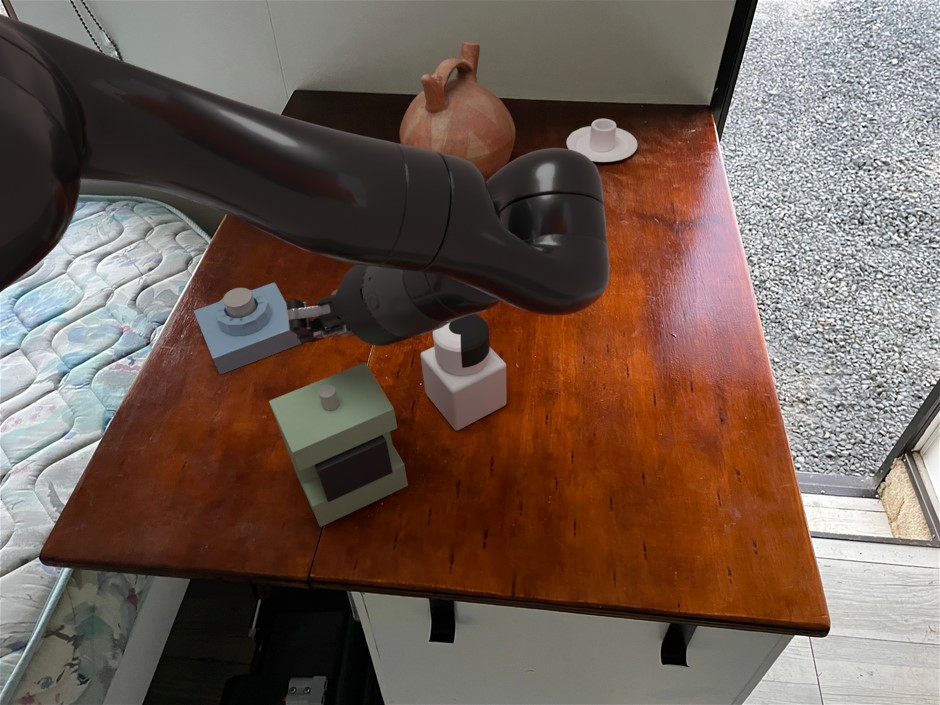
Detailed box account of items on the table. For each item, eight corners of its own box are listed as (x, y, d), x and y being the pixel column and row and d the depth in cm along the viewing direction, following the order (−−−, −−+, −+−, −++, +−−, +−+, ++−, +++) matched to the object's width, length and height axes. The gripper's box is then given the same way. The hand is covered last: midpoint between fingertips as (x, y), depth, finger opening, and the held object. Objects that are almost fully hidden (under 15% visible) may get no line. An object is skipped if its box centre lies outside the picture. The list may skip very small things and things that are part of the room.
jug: (477, 220, 108) (472, 95, 94) (382, 189, 115) (364, 68, 101) (534, 163, 119) (537, 43, 105) (444, 137, 126) (435, 22, 112)
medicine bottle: (474, 368, 87) (470, 295, 78) (507, 405, 83) (507, 332, 74) (424, 393, 85) (414, 320, 76) (455, 433, 80) (449, 360, 72)
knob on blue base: (219, 375, 88) (207, 347, 84) (200, 327, 94) (188, 299, 91) (303, 342, 91) (295, 314, 88) (279, 298, 98) (271, 270, 94)
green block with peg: (320, 527, 73) (287, 439, 62) (297, 477, 77) (263, 386, 66) (408, 486, 76) (391, 394, 65) (382, 440, 80) (362, 347, 69)
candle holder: (564, 130, 126) (565, 107, 123) (632, 129, 125) (635, 105, 122) (568, 166, 118) (569, 142, 115) (641, 165, 117) (644, 141, 114)
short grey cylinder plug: (231, 322, 88) (227, 310, 86) (224, 305, 90) (219, 293, 89) (259, 312, 89) (255, 300, 87) (251, 296, 91) (247, 283, 90)
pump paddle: (328, 502, 70) (317, 471, 66) (324, 495, 70) (313, 463, 66) (393, 472, 72) (386, 440, 68) (389, 465, 72) (382, 433, 68)
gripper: (458, 251, 63) (355, 296, 76) (328, 243, 54) (236, 295, 67) (471, 334, 62) (365, 365, 75) (341, 340, 53) (246, 374, 66)
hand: (304, 332), depth 71 cm, fingers closed
